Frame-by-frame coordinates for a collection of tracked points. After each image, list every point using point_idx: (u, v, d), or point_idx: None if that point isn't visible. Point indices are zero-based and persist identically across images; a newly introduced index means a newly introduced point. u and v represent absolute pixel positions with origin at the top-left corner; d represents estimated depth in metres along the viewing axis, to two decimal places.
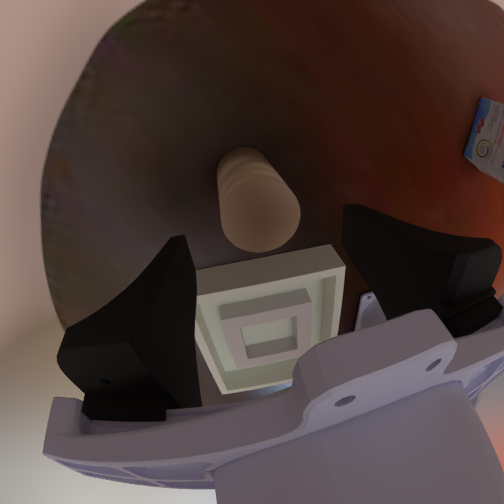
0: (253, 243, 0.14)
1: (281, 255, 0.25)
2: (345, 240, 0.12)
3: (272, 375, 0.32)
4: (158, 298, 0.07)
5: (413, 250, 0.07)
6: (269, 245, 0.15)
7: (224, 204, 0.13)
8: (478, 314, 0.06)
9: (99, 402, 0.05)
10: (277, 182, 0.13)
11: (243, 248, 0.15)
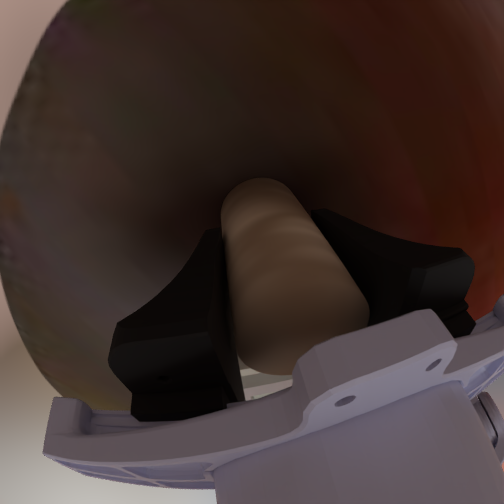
0: (287, 366, 0.08)
1: None
2: None
3: None
4: (214, 288, 0.07)
5: (371, 260, 0.07)
6: None
7: (242, 323, 0.07)
8: None
9: (152, 402, 0.05)
10: (342, 283, 0.07)
11: (271, 373, 0.08)
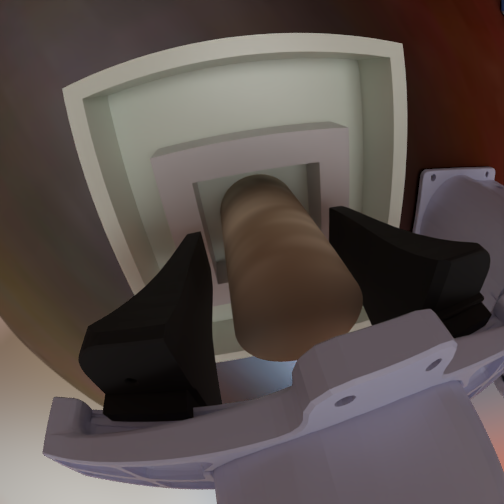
0: (284, 352, 0.09)
1: None
2: (331, 243, 0.12)
3: None
4: (183, 294, 0.07)
5: (394, 255, 0.07)
6: None
7: (240, 307, 0.07)
8: (463, 323, 0.06)
9: (122, 402, 0.05)
10: (335, 268, 0.07)
11: (269, 359, 0.09)
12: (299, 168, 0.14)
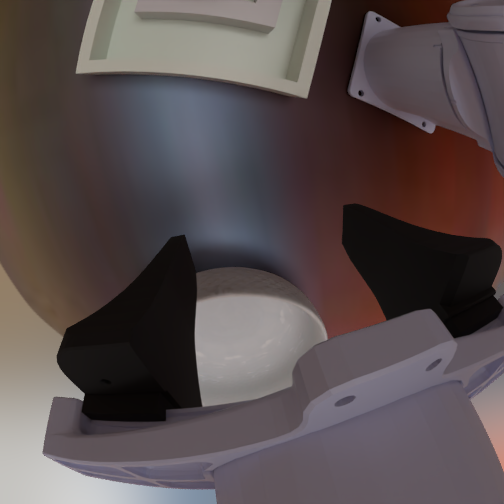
0: None
1: None
2: (345, 240, 0.12)
3: None
4: (158, 298, 0.07)
5: (412, 250, 0.07)
6: None
7: None
8: (478, 314, 0.06)
9: (99, 402, 0.05)
10: None
11: None
12: None
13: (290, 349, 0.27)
